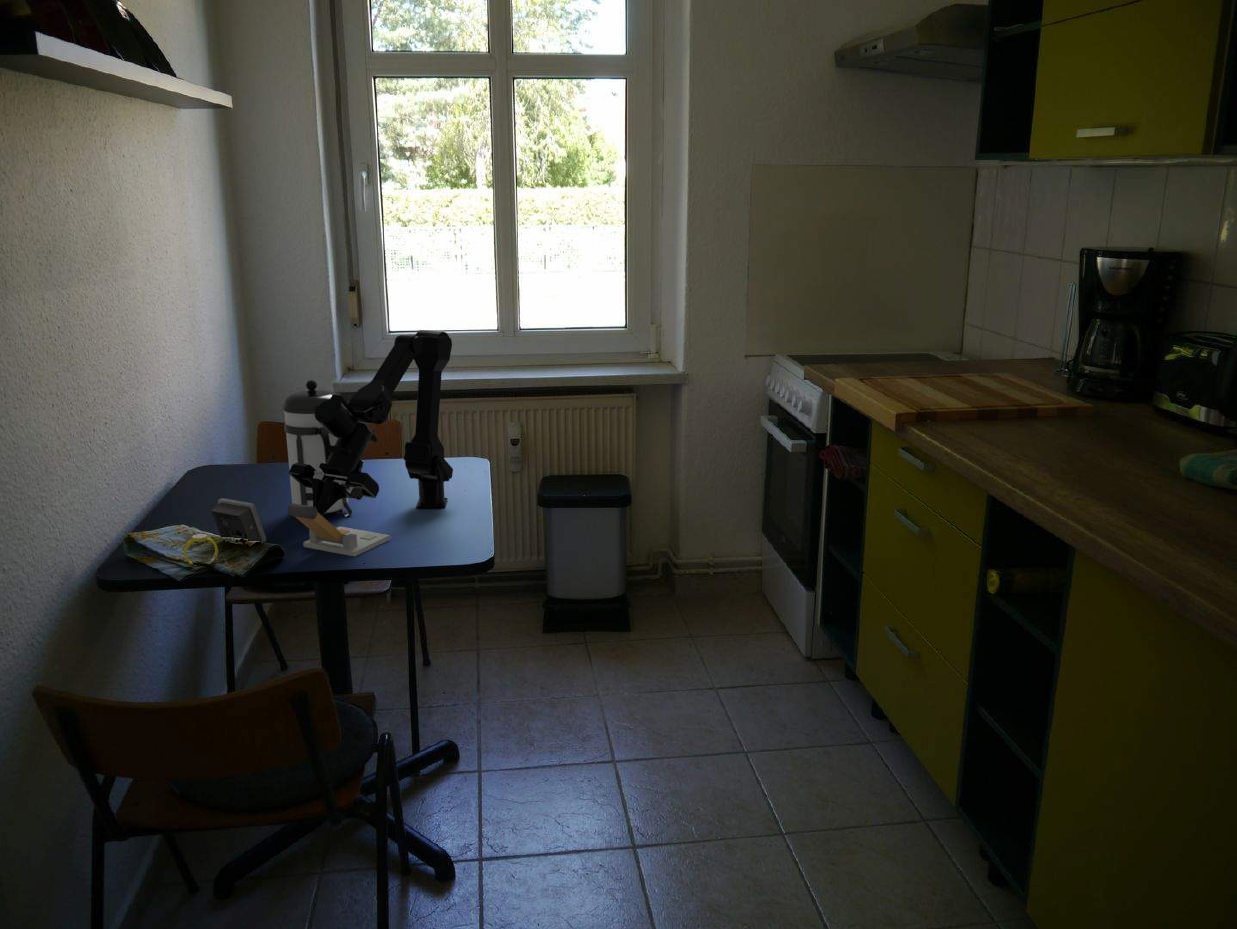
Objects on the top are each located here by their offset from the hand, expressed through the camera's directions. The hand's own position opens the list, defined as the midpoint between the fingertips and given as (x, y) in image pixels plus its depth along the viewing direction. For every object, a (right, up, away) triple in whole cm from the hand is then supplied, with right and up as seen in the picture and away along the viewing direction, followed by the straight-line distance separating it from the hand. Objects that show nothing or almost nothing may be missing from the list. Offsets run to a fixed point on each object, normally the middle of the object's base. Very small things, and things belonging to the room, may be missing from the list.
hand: (315, 517), depth 201 cm
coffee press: (-6, -1, +28) cm, 28 cm away
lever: (+2, -4, +5) cm, 7 cm away
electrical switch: (-18, -6, +10) cm, 21 cm away
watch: (-21, -9, -2) cm, 23 cm away
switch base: (+4, -6, +9) cm, 12 cm away
